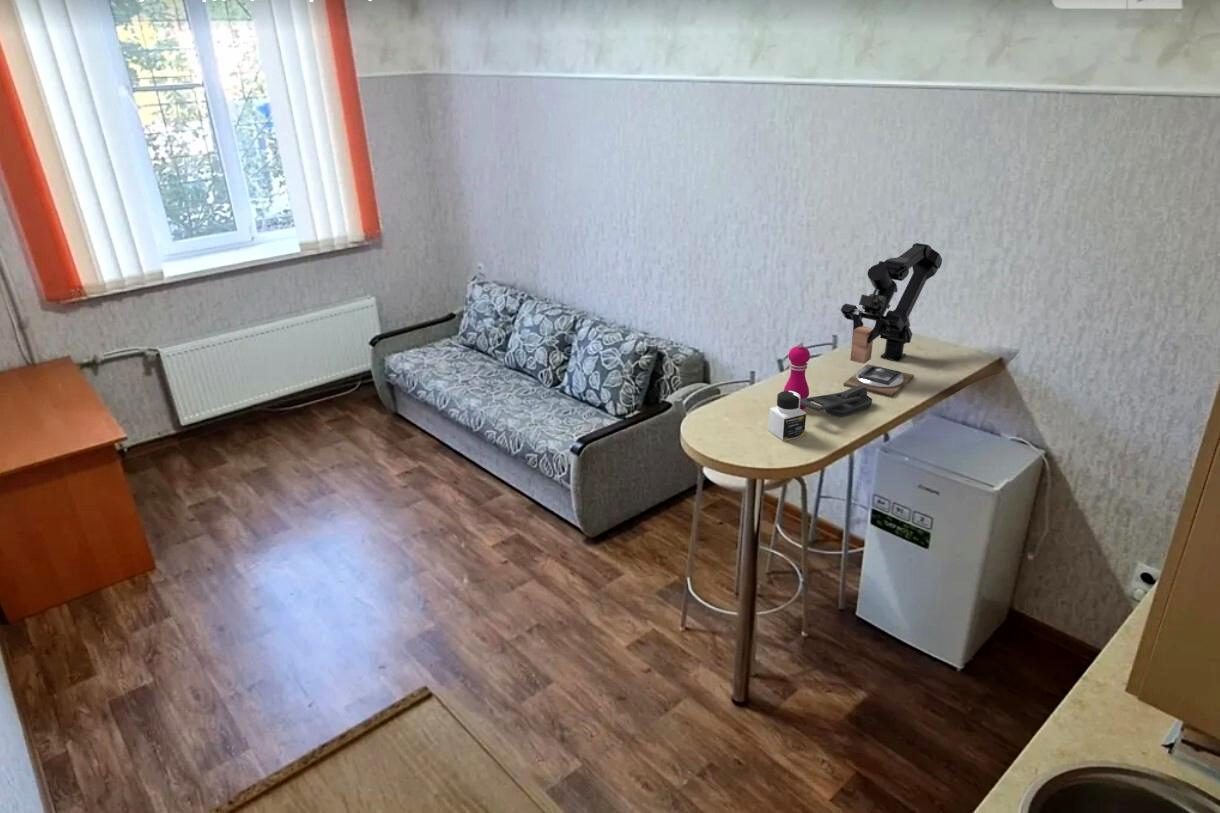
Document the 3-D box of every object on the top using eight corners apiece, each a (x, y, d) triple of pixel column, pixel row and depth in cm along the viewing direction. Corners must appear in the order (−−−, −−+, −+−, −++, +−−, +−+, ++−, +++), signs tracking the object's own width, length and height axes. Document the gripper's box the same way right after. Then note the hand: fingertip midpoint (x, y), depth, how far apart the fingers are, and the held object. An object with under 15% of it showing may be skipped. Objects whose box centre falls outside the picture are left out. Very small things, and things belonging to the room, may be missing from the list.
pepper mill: (791, 398, 232) (796, 335, 223) (812, 405, 227) (818, 341, 218) (777, 406, 227) (782, 342, 219) (799, 413, 223) (804, 348, 214)
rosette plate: (866, 366, 249) (867, 361, 248) (910, 376, 241) (910, 371, 240) (848, 381, 239) (848, 375, 238) (892, 392, 231) (893, 386, 230)
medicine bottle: (782, 441, 208) (785, 401, 203) (767, 430, 214) (770, 391, 209) (804, 436, 210) (808, 396, 205) (789, 425, 216) (792, 386, 211)
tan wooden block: (857, 355, 242) (860, 325, 238) (870, 359, 239) (874, 328, 235) (850, 360, 240) (853, 330, 235) (863, 363, 237) (866, 333, 232)
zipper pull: (795, 398, 217) (853, 375, 229) (793, 419, 219) (851, 396, 232) (819, 409, 210) (879, 385, 223) (817, 431, 213) (876, 406, 225)
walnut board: (867, 367, 251) (867, 364, 250) (913, 377, 242) (913, 374, 242) (843, 385, 238) (843, 382, 238) (891, 397, 230) (891, 394, 229)
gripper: (846, 278, 238) (824, 322, 236) (904, 289, 226) (882, 335, 224) (856, 296, 246) (835, 338, 244) (913, 308, 234) (892, 352, 232)
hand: (860, 341), depth 236 cm, fingers closed on tan wooden block, 4 cm apart
